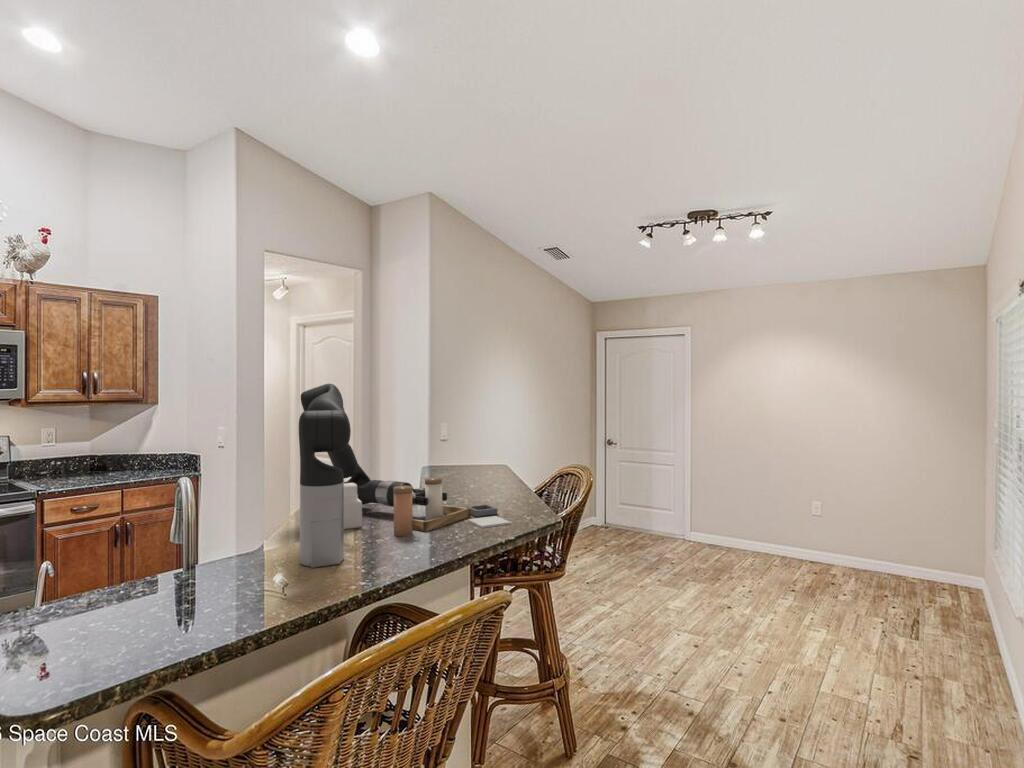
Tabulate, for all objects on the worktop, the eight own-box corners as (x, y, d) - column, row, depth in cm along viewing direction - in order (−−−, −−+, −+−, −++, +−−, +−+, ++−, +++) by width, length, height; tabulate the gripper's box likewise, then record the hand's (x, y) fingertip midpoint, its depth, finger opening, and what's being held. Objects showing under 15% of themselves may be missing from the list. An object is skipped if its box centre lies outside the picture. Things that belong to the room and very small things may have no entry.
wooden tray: (470, 517, 170) (470, 508, 170) (426, 531, 153) (426, 522, 153) (444, 513, 175) (444, 505, 175) (399, 527, 158) (399, 518, 158)
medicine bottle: (331, 524, 161) (331, 481, 162) (357, 522, 164) (357, 479, 165) (335, 530, 155) (335, 485, 155) (362, 527, 158) (362, 483, 158)
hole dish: (497, 515, 173) (497, 508, 173) (476, 517, 169) (476, 510, 169) (487, 510, 179) (487, 504, 179) (466, 513, 175) (466, 506, 175)
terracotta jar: (415, 534, 150) (415, 487, 150) (396, 537, 148) (396, 489, 147) (409, 530, 154) (409, 484, 154) (391, 532, 152) (390, 486, 152)
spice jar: (445, 522, 164) (445, 479, 164) (429, 524, 161) (428, 480, 161) (439, 518, 168) (438, 476, 168) (422, 520, 166) (422, 478, 166)
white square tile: (510, 524, 161) (510, 522, 161) (481, 528, 157) (481, 525, 157) (495, 517, 169) (495, 515, 169) (467, 521, 165) (467, 519, 165)
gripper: (377, 484, 166) (420, 489, 158) (410, 478, 178) (452, 482, 170) (377, 510, 166) (420, 517, 158) (410, 502, 178) (452, 507, 170)
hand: (437, 499), depth 164 cm, fingers open, 8 cm apart
